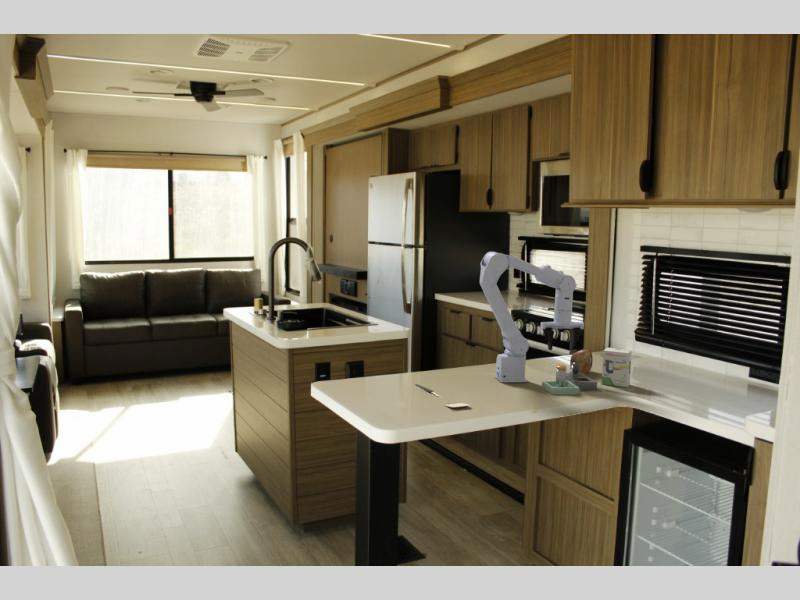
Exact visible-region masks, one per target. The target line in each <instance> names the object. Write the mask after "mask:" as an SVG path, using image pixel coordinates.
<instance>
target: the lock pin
mask: <svg viewBox="0 0 800 600" xmlns="http://www.w3.org/2000/svg"><path fill="white" fill-rule="evenodd" d="M555 371H556V373H555V381H556V386H555V387H565V381H566V373H567V365H564V364H556V370H555Z"/></svg>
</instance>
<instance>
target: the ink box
mask: <svg viewBox="0 0 800 600" xmlns="http://www.w3.org/2000/svg"><path fill="white" fill-rule="evenodd" d="M602 352H603V353H602V370H601V371H602V373H601V377H602V378H601V385H605V386H614V387H623V388H628V387H629V386H630V384H631V373H632V371H631V370H632V356H633V355H632V353H633V351H632V350H630V349H622V348H615V347H605V348H604V349H603V350H602Z"/></svg>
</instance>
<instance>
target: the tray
mask: <svg viewBox="0 0 800 600" xmlns="http://www.w3.org/2000/svg"><path fill="white" fill-rule="evenodd" d="M541 381H542V382H541V387H542V389H544V390H546V391H547V392H548V393H549V394H551V395H580V391H581V390H580V388H579V387H578V386H576V385H574V384H573V383H571V382H570V381H565V387H555V386H556V380H541Z"/></svg>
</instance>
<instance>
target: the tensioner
mask: <svg viewBox="0 0 800 600" xmlns="http://www.w3.org/2000/svg"><path fill="white" fill-rule="evenodd" d="M578 371H579V367H578V364H577V362H572V363H571V372H566V381H570V382H571V383H573V384H574V385H576V386H578V387H579V388H580V390H579V391H590V390H591V391H593V390H597V389H598V381H596V380H594V379H593V378H591V377H589V376H588V375H587V374H585V375H584V374H583V373H578Z"/></svg>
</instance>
